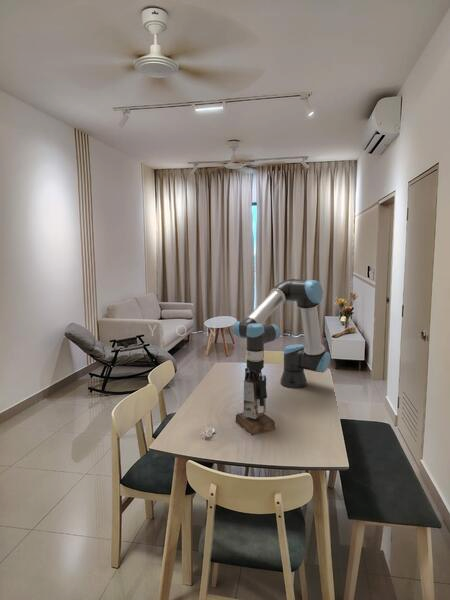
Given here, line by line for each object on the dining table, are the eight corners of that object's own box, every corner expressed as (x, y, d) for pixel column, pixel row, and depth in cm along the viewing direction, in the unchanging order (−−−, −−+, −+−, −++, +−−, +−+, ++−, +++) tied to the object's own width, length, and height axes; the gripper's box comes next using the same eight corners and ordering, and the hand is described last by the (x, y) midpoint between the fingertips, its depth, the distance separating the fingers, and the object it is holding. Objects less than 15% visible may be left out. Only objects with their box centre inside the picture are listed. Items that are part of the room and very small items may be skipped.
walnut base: (258, 416, 180) (258, 408, 180) (274, 429, 168) (274, 420, 167) (235, 422, 175) (235, 413, 174) (251, 435, 162) (251, 426, 162)
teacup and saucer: (209, 430, 168) (209, 421, 167) (223, 435, 163) (223, 426, 162) (195, 437, 161) (195, 428, 161) (209, 443, 156) (209, 434, 156)
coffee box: (255, 419, 165) (255, 383, 163) (243, 415, 169) (243, 380, 167) (266, 412, 172) (266, 377, 170) (254, 408, 176) (254, 375, 174)
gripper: (236, 354, 175) (236, 401, 178) (260, 366, 156) (260, 419, 159) (250, 352, 178) (250, 398, 181) (276, 364, 160) (275, 416, 163)
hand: (254, 408), depth 170 cm, fingers closed on coffee box, 8 cm apart
